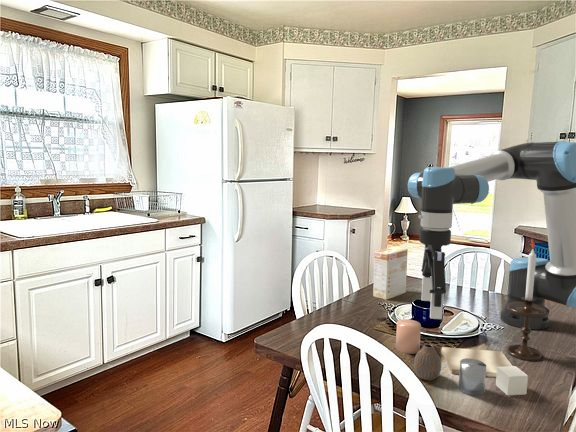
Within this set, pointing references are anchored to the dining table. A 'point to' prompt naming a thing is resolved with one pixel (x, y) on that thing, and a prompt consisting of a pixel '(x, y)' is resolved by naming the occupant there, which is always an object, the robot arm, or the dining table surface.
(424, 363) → the vase
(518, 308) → the candlestick
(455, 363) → the birch board
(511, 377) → the cream block
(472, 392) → the grey tin
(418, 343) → the pink pillar candle
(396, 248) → the coffeecake box
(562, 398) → the dining table surface
